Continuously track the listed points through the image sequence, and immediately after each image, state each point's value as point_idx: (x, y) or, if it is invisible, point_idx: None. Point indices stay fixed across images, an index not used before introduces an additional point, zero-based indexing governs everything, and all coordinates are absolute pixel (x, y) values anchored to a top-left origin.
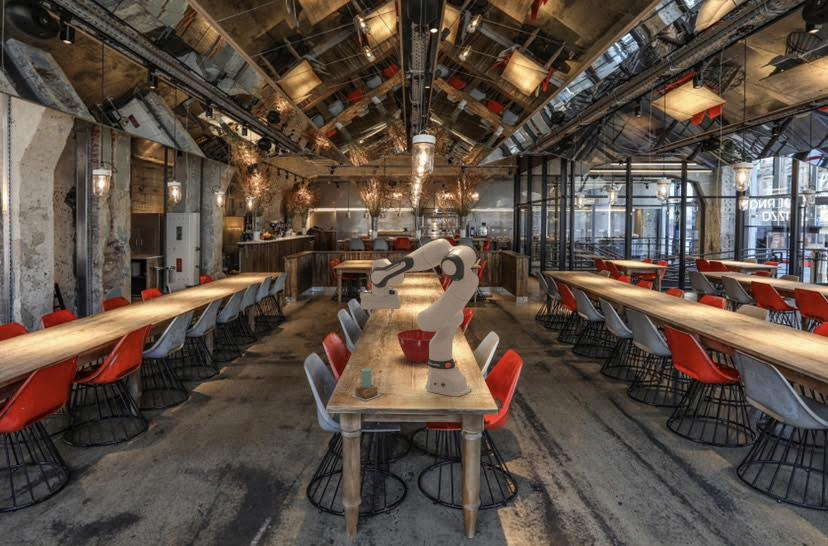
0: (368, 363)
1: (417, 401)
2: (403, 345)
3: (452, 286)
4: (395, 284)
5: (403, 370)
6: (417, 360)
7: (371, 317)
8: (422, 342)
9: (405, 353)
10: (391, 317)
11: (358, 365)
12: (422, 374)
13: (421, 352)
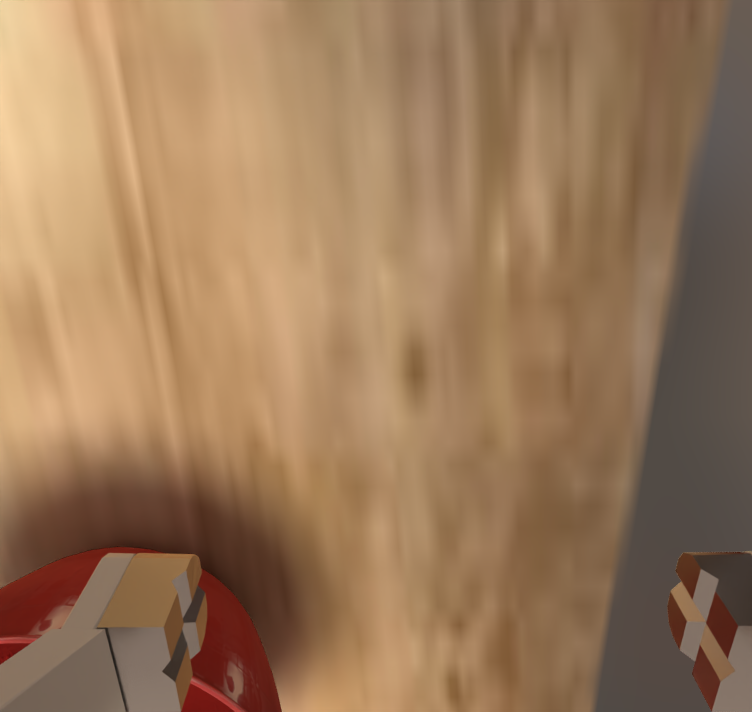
0: (512, 544)
1: None
2: (234, 650)
3: None
4: None
5: (241, 396)
6: (153, 550)
7: (730, 553)
8: (22, 624)
9: (237, 611)
10: (106, 561)
11: (583, 502)
12: (77, 302)
13: (84, 570)
